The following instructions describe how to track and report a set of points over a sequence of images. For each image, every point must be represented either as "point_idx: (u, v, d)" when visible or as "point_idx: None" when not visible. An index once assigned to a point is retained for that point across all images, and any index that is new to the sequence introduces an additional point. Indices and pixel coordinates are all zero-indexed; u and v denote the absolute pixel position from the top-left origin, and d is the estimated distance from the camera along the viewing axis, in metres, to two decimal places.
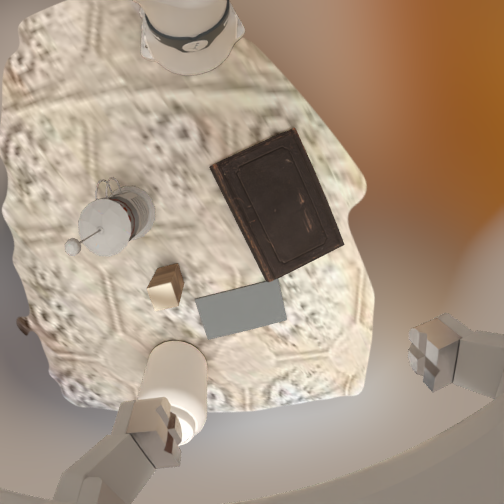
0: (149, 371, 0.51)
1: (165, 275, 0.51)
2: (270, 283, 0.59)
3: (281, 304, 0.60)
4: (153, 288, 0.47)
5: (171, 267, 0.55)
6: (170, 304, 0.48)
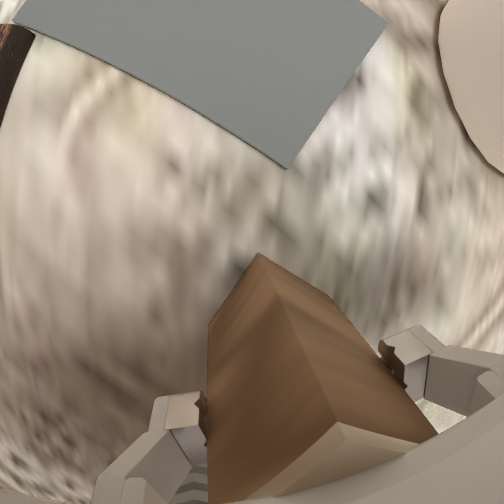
0: None
1: None
2: (34, 17, 0.09)
3: None
4: None
5: None
6: None
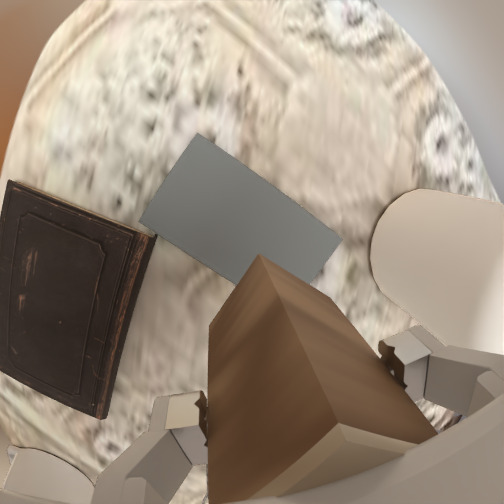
0: None
1: None
2: (156, 226, 0.26)
3: (176, 171, 0.25)
4: None
5: None
6: None
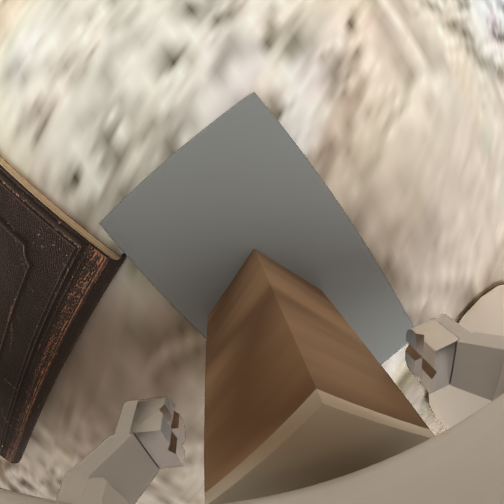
0: None
1: None
2: (128, 241, 0.14)
3: (193, 149, 0.13)
4: None
5: None
6: (347, 438, 0.05)
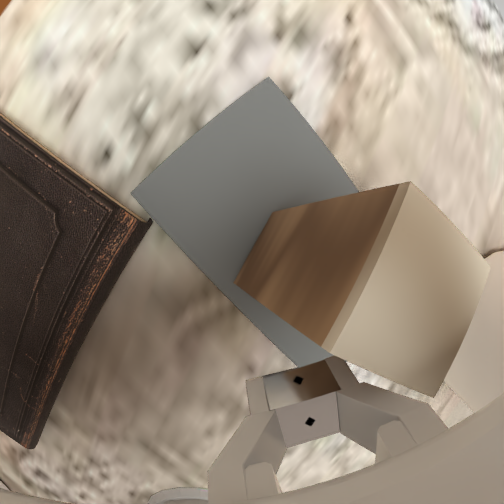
0: None
1: None
2: (158, 208, 0.15)
3: (217, 125, 0.14)
4: (418, 381, 0.07)
5: None
6: (434, 231, 0.06)
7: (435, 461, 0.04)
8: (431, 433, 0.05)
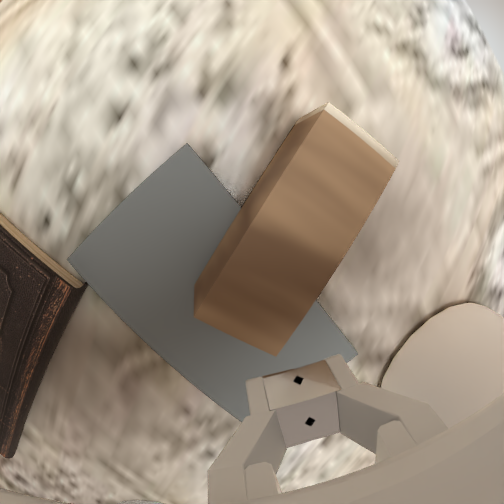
0: None
1: (302, 219, 0.12)
2: (90, 274, 0.16)
3: (136, 198, 0.15)
4: None
5: (238, 292, 0.12)
6: None
7: (435, 461, 0.04)
8: (431, 433, 0.05)
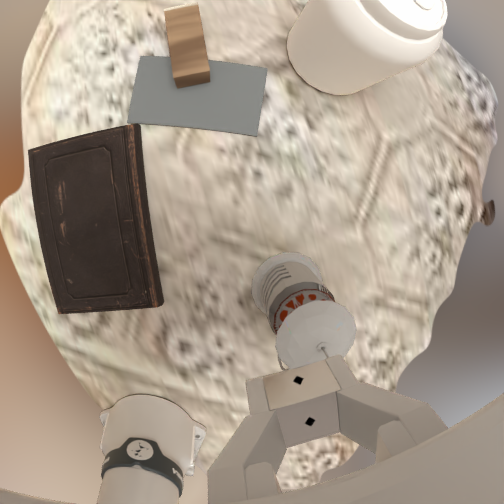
0: (378, 79, 0.27)
1: (181, 34, 0.28)
2: (139, 119, 0.34)
3: (137, 81, 0.33)
4: None
5: (180, 62, 0.29)
6: None
7: (435, 461, 0.04)
8: (431, 433, 0.05)
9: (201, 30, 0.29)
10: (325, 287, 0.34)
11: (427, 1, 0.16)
